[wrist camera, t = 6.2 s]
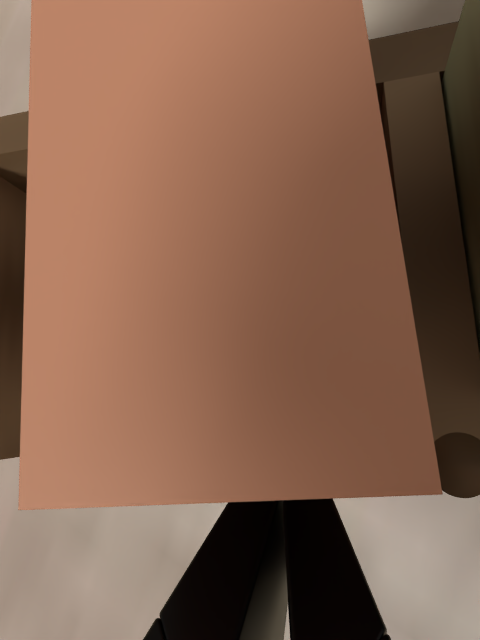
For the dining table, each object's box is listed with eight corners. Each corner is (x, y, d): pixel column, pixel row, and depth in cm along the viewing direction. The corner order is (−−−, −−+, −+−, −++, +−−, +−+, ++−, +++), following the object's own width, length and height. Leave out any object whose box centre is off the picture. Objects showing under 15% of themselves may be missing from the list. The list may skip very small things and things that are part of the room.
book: (367, 426, 15) (441, 495, 3) (263, 433, 15) (18, 509, 4) (337, 202, 16) (316, -281, 5) (245, 219, 17) (35, -168, 6)
